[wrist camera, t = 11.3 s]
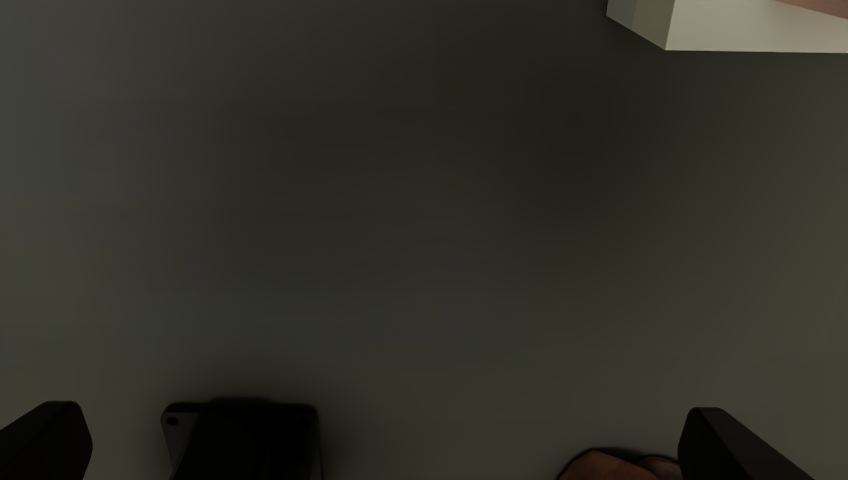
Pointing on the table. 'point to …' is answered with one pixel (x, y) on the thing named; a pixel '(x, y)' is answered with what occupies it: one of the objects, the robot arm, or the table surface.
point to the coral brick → (823, 6)
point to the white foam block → (731, 25)
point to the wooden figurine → (621, 468)
